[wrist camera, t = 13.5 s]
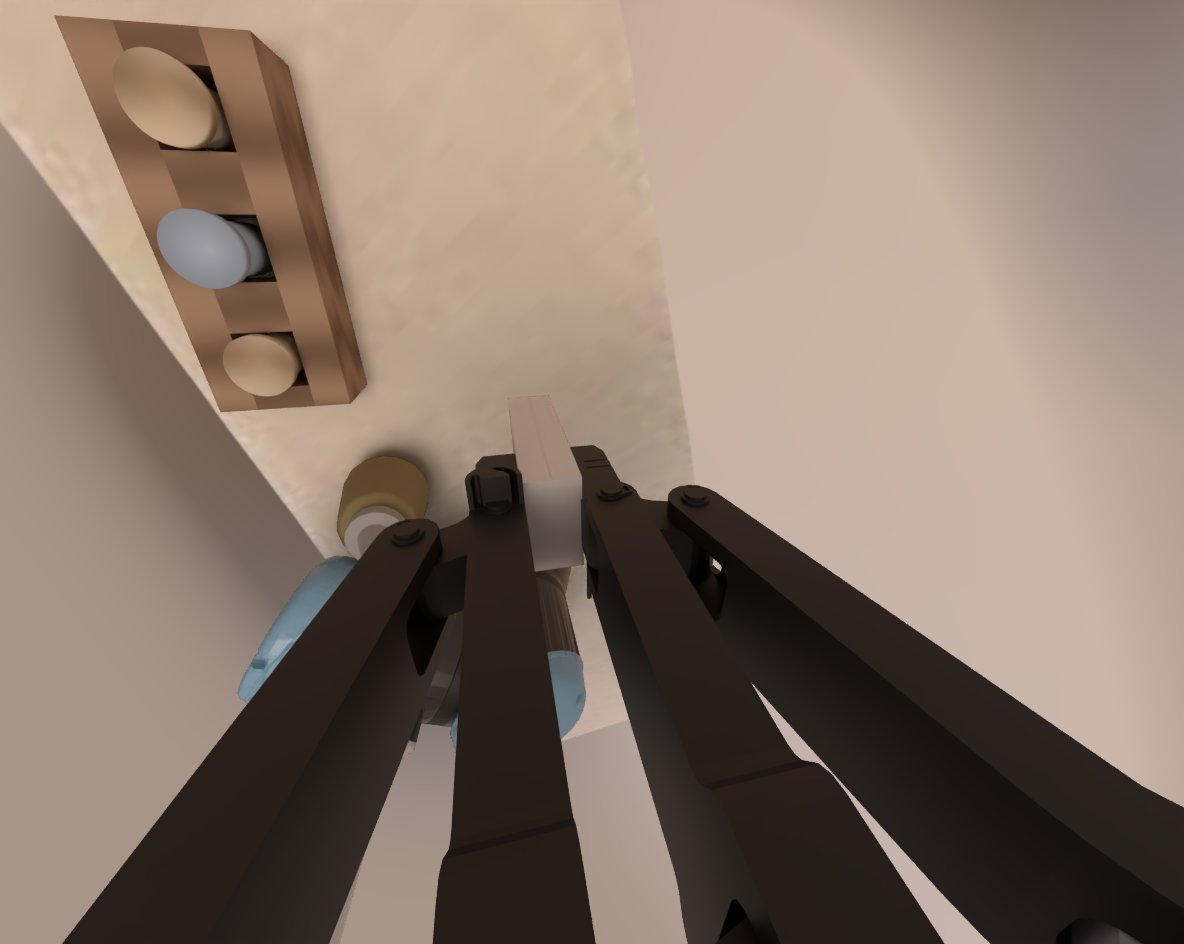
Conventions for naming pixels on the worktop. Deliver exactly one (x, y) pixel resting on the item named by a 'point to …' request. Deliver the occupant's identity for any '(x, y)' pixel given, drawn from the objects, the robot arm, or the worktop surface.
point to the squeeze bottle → (379, 500)
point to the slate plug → (212, 248)
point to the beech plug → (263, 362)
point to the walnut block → (233, 203)
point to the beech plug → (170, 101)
